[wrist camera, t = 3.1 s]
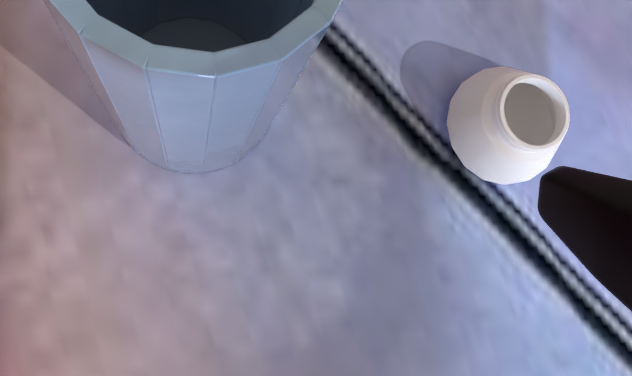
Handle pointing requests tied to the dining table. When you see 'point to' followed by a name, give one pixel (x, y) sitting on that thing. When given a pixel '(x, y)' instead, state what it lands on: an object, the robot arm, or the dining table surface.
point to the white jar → (507, 124)
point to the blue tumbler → (193, 69)
